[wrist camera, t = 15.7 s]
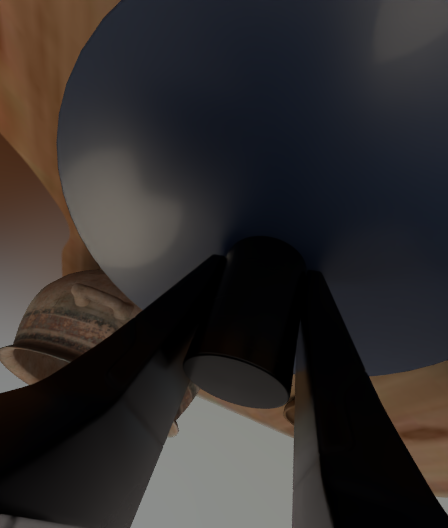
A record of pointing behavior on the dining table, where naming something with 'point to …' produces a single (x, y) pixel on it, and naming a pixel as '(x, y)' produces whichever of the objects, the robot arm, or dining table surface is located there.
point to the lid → (269, 173)
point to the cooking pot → (72, 327)
